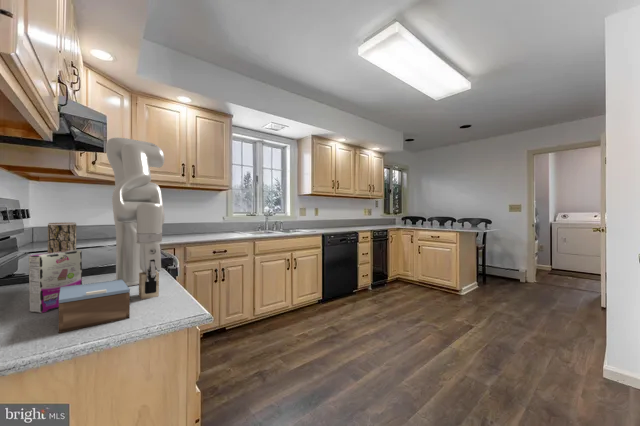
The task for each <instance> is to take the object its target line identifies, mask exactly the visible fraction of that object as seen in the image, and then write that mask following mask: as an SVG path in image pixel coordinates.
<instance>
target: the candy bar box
mask: <svg viewBox="0 0 640 426" xmlns="http://www.w3.org/2000/svg"><path fill="white" fill-rule="evenodd" d="M82 252H83V251H82V250H77V249H76V250H68V251H60V252H53V253H48V252H47V253H39V254H31V255H28V279H29V283H28V285H29V286H28V289H29V290H28V291H29V294H28V295H29V299H28V300H29V312H31V313H37V314H38V313H39V314H43V313H46V312H51V311H53V310H56V309H59V295H60V288H61V287H66V286H73V285H81V284H83V274H82V273H83V267H82V266H83V264H82V262H83V261H82V256H83V253H82Z"/></svg>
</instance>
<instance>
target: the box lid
mask: <svg viewBox="0 0 640 426" xmlns="http://www.w3.org/2000/svg"><path fill="white" fill-rule="evenodd" d="M127 292H130V293H131V288H130V287H129V286H127V285H126V284H125V282H124V281H123V280H122V279H120V280H115V279H113V280H106V281H98V282H90V283H82V284H81V285H73V286H66V287H61V288H60V295H59V303H64V302H70V301H77V300H83V299H89V298H96V297H102V296H108V295H115V294H121V293H127Z"/></svg>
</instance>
